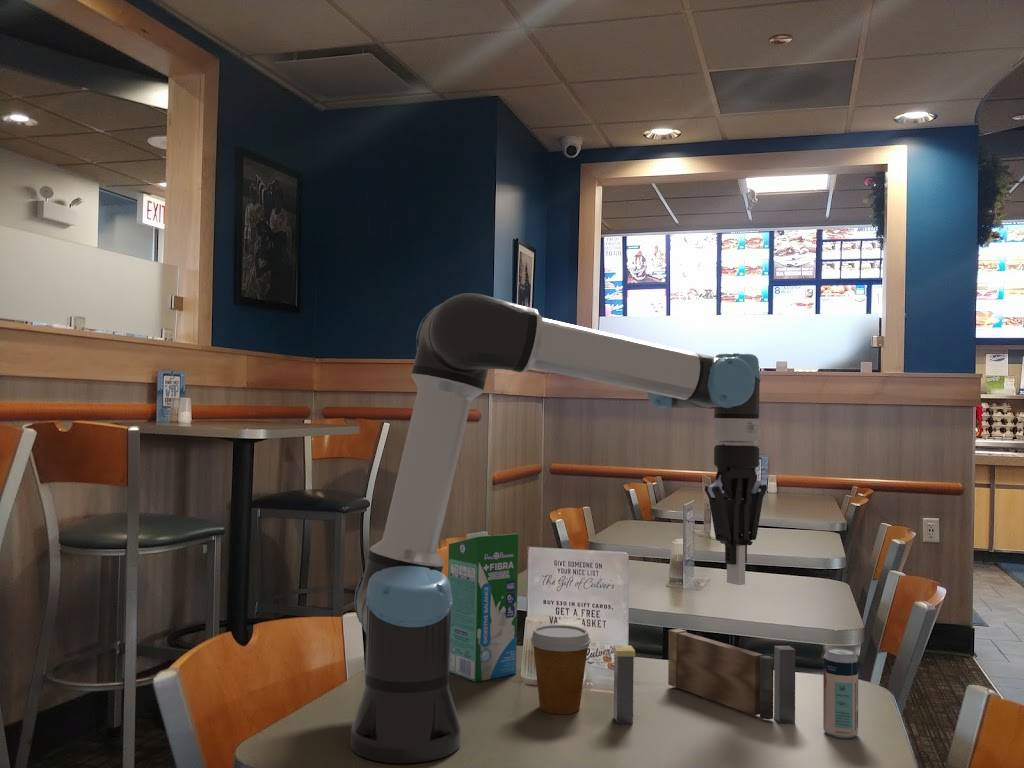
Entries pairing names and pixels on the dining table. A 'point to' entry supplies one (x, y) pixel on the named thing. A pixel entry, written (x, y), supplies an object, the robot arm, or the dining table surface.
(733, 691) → the garden gate
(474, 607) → the milk carton
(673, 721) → the dining table surface
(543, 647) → the disposable coffee cup
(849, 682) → the supplement bottle
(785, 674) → the hinge post
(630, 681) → the post
